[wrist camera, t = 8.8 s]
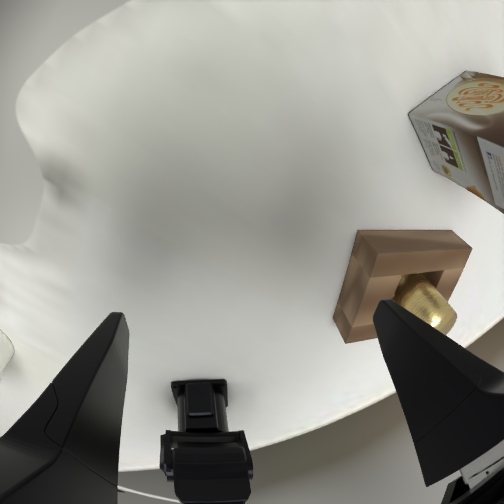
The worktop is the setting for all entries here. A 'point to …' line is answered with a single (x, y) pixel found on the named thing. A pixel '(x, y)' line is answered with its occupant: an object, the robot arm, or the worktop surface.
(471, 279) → the worktop surface
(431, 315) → the brass peg
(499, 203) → the coffee box
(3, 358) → the beer glass
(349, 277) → the walnut block
